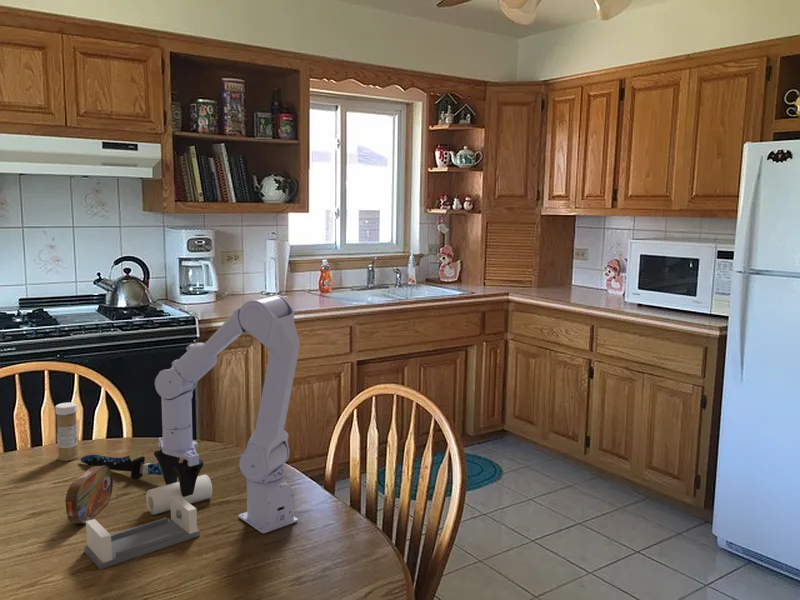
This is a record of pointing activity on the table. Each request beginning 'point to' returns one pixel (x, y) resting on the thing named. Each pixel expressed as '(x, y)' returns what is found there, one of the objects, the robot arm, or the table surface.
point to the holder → (141, 536)
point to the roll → (161, 496)
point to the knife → (124, 464)
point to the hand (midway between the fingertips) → (179, 489)
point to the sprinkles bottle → (67, 431)
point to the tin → (89, 494)
